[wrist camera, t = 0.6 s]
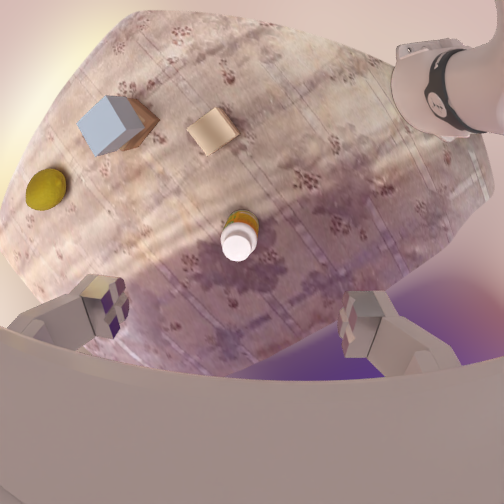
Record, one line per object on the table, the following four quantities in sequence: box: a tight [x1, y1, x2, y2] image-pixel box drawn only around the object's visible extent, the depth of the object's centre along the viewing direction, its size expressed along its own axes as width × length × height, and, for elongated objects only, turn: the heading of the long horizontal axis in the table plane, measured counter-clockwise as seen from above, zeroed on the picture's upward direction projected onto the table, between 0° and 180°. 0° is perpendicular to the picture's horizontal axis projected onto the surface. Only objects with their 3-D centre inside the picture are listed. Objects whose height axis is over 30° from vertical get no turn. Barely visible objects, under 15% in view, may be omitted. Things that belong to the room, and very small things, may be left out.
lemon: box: [26, 169, 66, 211], centre depth 43 cm, size 11×8×8 cm
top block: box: [76, 95, 145, 157], centre depth 34 cm, size 6×6×6 cm
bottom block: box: [119, 98, 160, 151], centre depth 39 cm, size 6×6×6 cm
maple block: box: [187, 107, 241, 156], centre depth 39 cm, size 5×5×6 cm
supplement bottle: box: [221, 210, 259, 261], centre depth 44 cm, size 5×5×10 cm
